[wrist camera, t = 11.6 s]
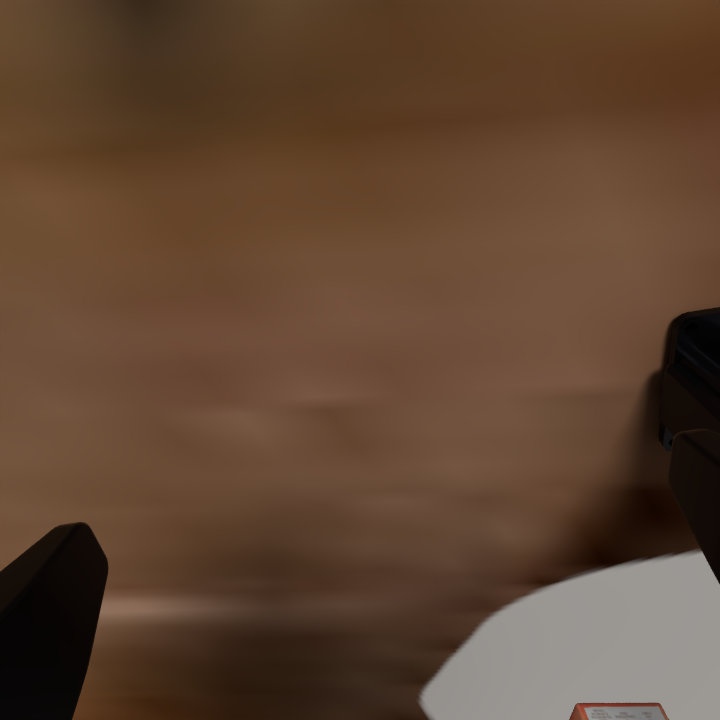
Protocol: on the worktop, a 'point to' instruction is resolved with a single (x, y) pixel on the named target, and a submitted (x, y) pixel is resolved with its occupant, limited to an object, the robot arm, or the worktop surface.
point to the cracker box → (618, 711)
